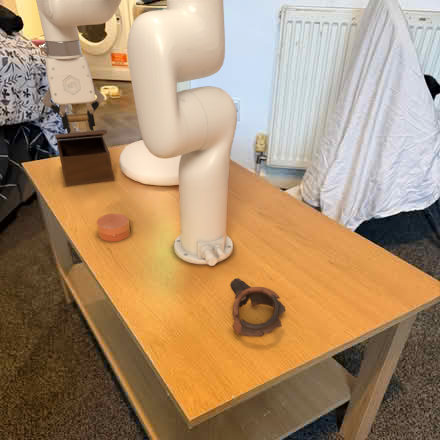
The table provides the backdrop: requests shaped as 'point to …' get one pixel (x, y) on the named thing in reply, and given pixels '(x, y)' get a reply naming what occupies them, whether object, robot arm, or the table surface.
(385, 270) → the table surface
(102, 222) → the orange short cylinder
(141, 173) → the plate
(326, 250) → the table surface
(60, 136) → the lid
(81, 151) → the chest
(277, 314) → the pottery mug
